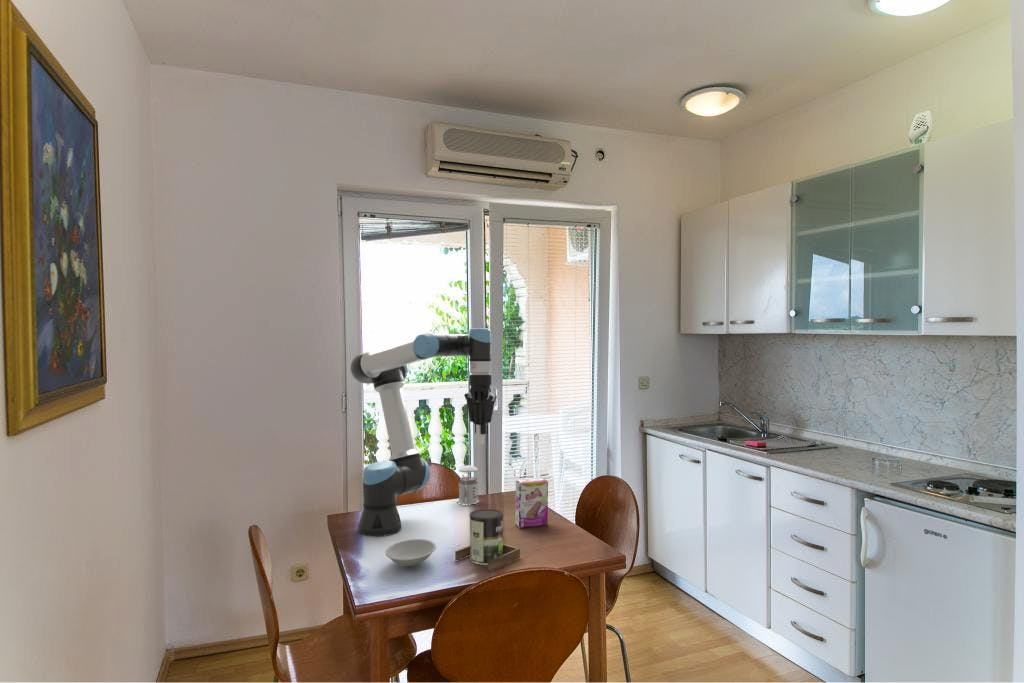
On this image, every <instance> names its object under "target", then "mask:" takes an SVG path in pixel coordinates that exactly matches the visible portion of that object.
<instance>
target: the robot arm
mask: <svg viewBox="0 0 1024 683" xmlns="http://www.w3.org/2000/svg"><path fill="white" fill-rule="evenodd" d="M436 357H437V358H438V357H468V370H469V371H468V372H469V373H470V374H469V375H468V385H469V386H470V388H469V392H467V393H464V398H465V401H466V406H467V411H468V418H469V421H470V422H471V423H473V424H474V433H475V437H476V438H475V444H476V445H484V444H486V439H485V438H486V434H487V425H488V424H489V423H491V422H492V417H493V411H494V407H495V406H494V405H495V403H496V402H495V401H496V400H497V398H498V396H497V395H496V394H493V393H492V389H491V386H492V375H491V373H492V332H491V329H489V328H485V327H483V328H481V327H477V328H476V327H475V328H473V327H471V328H469V330H468V333H467V334H459V333H458V334H457V333H442V334H439V333H438V334H437V333H423V334H422V333H420V334H418V335H417V336H416V337H415V338H414V339H412V340H409V341H405V342H402V343H400V344H397V345H394V346H391V347H387V348H384V349H382V350H378V351H375V352H374V351H366V352H363V353H359V354H357V355H356V356H354V358H353V359H352V361H351V363H350V373H351V375H352V377H353V378H354V379H355V380H356V381H358V382H360V383H362V384H365V385H366V384H368V385H369V384H373V388H374V391H376V392H377V393H378V394H379V398H380V402H381V406H382V411H383V416H384V422H385V426H386V432H387V436H388V441H389V447H390V450H391V456H390V457H389V459H388V460H382V461H375V462H373V463H370V464H368V465H366V466H365V467H364V468H363V473H362V479H361V480H362V512H361V514H360V518H359V522H358V523H357V532H358V533H359V534H360V535H363V536H366V537H383V536H384V535H385V536H389V534H390V535H393V533H394V534H397V533H398V532H400V531H401V530H402V520H401V517H400V514H399V510H398V508H397V497H398V496H402V495H405V494H409V493H414V492H417V491H419V490H421V489H423V488H425V487H426V486H427V484H428V482H429V480H430V478H431V468H430V465H429V462H427V461H426V459H424V458H422V457H421V454H420V453H421V452H419V451H418V450H416V448H415V446H414V441H413V436H412V431H411V427H410V422H409V417H408V412H407V407H406V403H405V399H404V398H405V397H404V394H403V386H404V385H405V379H406V378H407V376H408V374H407V373H408V372H409V366H408V365H410V364H414V363H416V362H420V361H424V360H428V359H431V358H436Z"/></svg>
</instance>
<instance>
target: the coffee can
mask: <svg viewBox="0 0 1024 683" xmlns="http://www.w3.org/2000/svg"><path fill="white" fill-rule="evenodd" d="M503 512H504V511H503ZM503 512H502V511H501V510H499V509H493V508H490V509H489V508H484V509H483V508H482V509H476V510H473V511H471V512H470V513H469V521H470V522H469V538H470V539H469V545H470V556H469V561H470V560H471V561H472V562H474V563H476V564H475V565H477V564H480V565H479V566H488V561H490V560H492V559H495V558H497V557H499V556H502V555H504V554H503V544H504V540H503V539H504V535H503V534H504V525H503V523H504V522H503V518H504V513H503ZM471 561H470V562H471ZM472 562H471V563H472ZM474 563H473V564H474Z"/></svg>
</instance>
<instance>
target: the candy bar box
mask: <svg viewBox="0 0 1024 683" xmlns="http://www.w3.org/2000/svg"><path fill="white" fill-rule="evenodd" d="M548 495H549V481H548V480H547V479H545V478H527V479H517V480H515V512H514V513H515V518H514V520H515V521H514V522H515V526H516V527H518V528H519V529H525V528H533V527H535V528H536V527H544V525H546V526H548V520H549V519H548V518H549V517H548V516H549V515H548V514H549V512H548V509H549V506H548V505H549V504H548V503H549V496H548Z"/></svg>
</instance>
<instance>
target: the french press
mask: <svg viewBox="0 0 1024 683" xmlns="http://www.w3.org/2000/svg"><path fill="white" fill-rule="evenodd" d="M465 445H466V446H467V463H468V464H467V465H463V466H460V467H459V468H458V472H461V473H467V475H466V476H465V475H464V474H462V477H460V478H459V481H458V495H459V496H458V500H457V501H458V503H460V504H465V505H464V506H470V505H469V504H476V503H478V502H479V501H480V500H479V496H478V492H479V489H478V487H479V485H478V484H479V483H478V481H477V480H478V478H477V477H474V476H471V477H470V476H469V474H470V473H473V472H475V473H476V472H477V471H478V470H479V468H478V467H476V466H474V465H470V462H469V458H470V457H469V456H470V454H469V452H470V451H469V449H470V448H469V446H471V442H468V441H467V442H466V443H465ZM460 504H459V505H460ZM466 504H467V505H466ZM476 505H477V504H476Z"/></svg>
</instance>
